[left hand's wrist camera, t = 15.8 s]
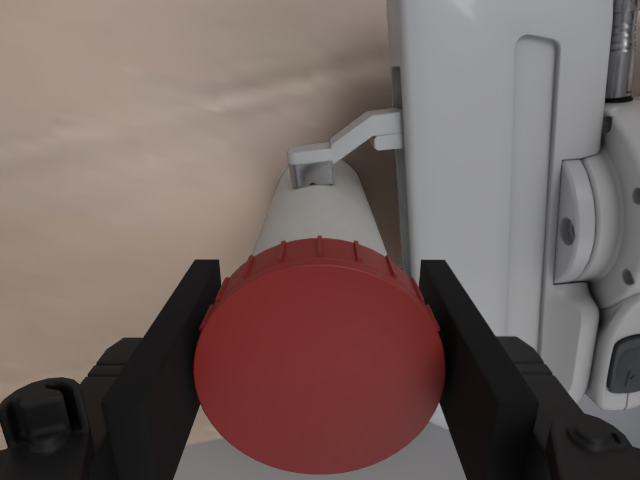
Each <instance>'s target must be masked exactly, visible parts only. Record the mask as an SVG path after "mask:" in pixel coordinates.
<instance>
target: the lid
mask: <svg viewBox="0 0 640 480" xmlns="http://www.w3.org/2000/svg"><path fill="white" fill-rule="evenodd" d="M199 331H201V334H200V336H199V339H198V342H197V345H196V350H195V355H194V365H193V375H194V383H195V388H196V392H197V395H198V399H199V402H200V404H201V406H202V408H203V410H204V413H205V414H206V416H207V417H208V419H209V420H210V422H211V424H212V425H213V426H214V427H215V429H216V430H217V431H218V432H219V433H220V434H221V436H223V437H224V438H225V439H226V440H227V441H228V442H229V443H230V444H231V445H233V446H234V447H235V448H237V449H238V450H240V451H241V452H242V453H244V454H246V455H247V456H249V457H251V458H253V459H255V460H257V461H259V462H261V463H264V464H266V465H268V466H271V467H275V468H278V469H281V470H285V471H290V472H296V473H303V474H336V473H344V472H349V471H354V470H358V469H361V468H364V467H368V466H371V465H373V464H376V463H378V462H380V461H382V460H385V459H386V458H388V457H390V456H392V455H393V454H395V453H397V452H398V451H400V450H401V449H402V448H404V447H405V446H407V445H408V444H409V443H410V442H411V441H412V440H413V439H414V438H416V437H417V436H418V435H419V434H420V432H421V431H422V430H423V429H424V428H425V426H426V425H427V424H428V422H429V421H430V419H431V418H432V416H433V414H434V413H435V411H436V409H437V406H438V404H439V402H440V399H441V396H442V392H443V388H444V384H445V375H446V363H445V354H444V349H443V345H442V341H441V339H440V336H439V334H438V331H440V328H439V325H438V323H437V321H436V319H435V317H434V315H433V313H432V310H431V308H430V306H429V304H428V305H426V304H425V302H424V298H423V296H422V294H421V292H420V290H419V287H418V285H417V283H416V281H415V279H414V278H413V277H412V278H409V276H408V275H407V274H406V273H405V272H404V271H403V270H402V269H401V268H400V267H399V266H398V265H396V264H395V263H394V262H392V260H391V257H390V256H389V255H386V257H385V256H384V255H382V254H380V253H378V252H376V251H374V250H373V249H370V248H368V247H365V246H362V245H360V244H359V242H358V241H355V240H354V242H349V241H345V240H339V239H331V238H322V236H317V238H308V239H300V240H294V241H290V242H286V241H285V240H284V241H281V244H279V245H277V246H274V247H272V248H269V249H267V250H265V251H263V252H261V253H259V254H257V255H256V256H253V255H251V256H249V258H248V260H247V262H246V263H244V264H243V265H242V266H240V267H239V268H238V269H237V270H236V271H235V272H234V273H233V274H232V275H231V277H230V278H228V277H226V278H225V279H224V281H223V284H222V286H221V288H220V290H219V292H218V294H217V297H216V299H215V303H214V305H212V304H210V307H209V309H208V311H207V313H206V315H205V317H204V319H203V321H202V324H201V326H200V328H199Z"/></svg>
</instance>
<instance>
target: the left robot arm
mask: <svg viewBox="0 0 640 480" xmlns="http://www.w3.org/2000/svg"><path fill="white" fill-rule="evenodd" d="M220 288H221V277H220V265H219V260H195V261H194V262H193V264H192V265H191V267H190V268H189V270H188V271H187V273H186V274H185V276H184V277H183V279H182V280H181V282H180V283H179V285H178V286H177V288H176V289H175V291H174V292H173V294H172V295H171V297H170V298H169V300H168V301H167V303H166V304H165V306H164V307H163V309H162V310H161V312H160V313H159V315H158V316H157V318H156V319H155V321H154V322H153V324H152V325H151V327H150V328H149V330H148V331H147V333H146V334H145V336H144V337H143V338H123V339H121V340H120V341H118V342H117V343H115V344H114V345H112V346H111V347H110V348H108V349H107V350H106V351H105V352H104V354H103V355H102V356H101V358H100V359H99V360H98V362H97V364H96V366H94V367H93V368H92V369H91V371H90V372H89V373H88V377H85V379H84V380H83V381H82V382H81V384H79V383H77V382H76V381H75V380H73V379H68V378H63V377H60V378H48V379H44V380H41V381H37V382H33V383H31V384H29V385H26V386H24V387H22V388H20V389H18V390H16V391H15V392H13V393H12V394H11V395H9V396H8V397H7V398H5V399H4V400H3V401H2V403H1V404H0V424H1V427H2V430H3V434H4V437H5V440H6V443H7V446H8V448H7V449H4V450H1V451H0V480H173V478H174V475H175V473H176V470H177V467H178V464H179V462H180V459H181V456H182V453H183V450H184V448H185V445H186V442H187V439H188V437H189V434H190V431H191V428H192V425H193V423H194V420H195V417H196V414H197V412H198V409H199V406H200V402H199V399H198V395H197V392H196V388H195V383H194V375H193V365H194V355H195V350H196V345H197V342H198V339H199V336H200V334H201V331H199V328H200V326H201V324H202V321H203V319H204V317H205V315H206V313H207V311H208V309H209V307H210V304H212V305H214V303H215V299H216V297H217V294H218V292H219V290H220ZM419 290H420V292H421V294H422V296H423V298H424V302H425V304H426V305H428V304H429V306H430V308H431V310H432V313H433V315H434V317H435V319H436V321H437V323H438V325H439V328H440V331H438V334H439V336H440V339H441V341H442V345H443V349H444V354H445V363H446V375H445V384H444V388H443V392H442V396H441V399H440V402H439V403H440V406H441V409H442V412H443V414H444V417H445V420H446V423H447V425H448V428H449V431H450V434H451V437H452V439H453V442H454V445H455V448H456V450H457V453H458V456H459V459H460V462H461V464H462V467H463V470H464V473H465V475H466V478H467V480H640V449H639V448H635V447H632V445H631V444H630V442H629V441H628V439H627V438H626V436H625V435H624V434H623V433H621V432H620V431H619V430H618V429H617V428H615V427H614V426H613V425H611V424H609V423H607V422H605V421H603V420H602V419H600V418H597V417H594V416H591V415H588V414H584V413H583V412H582V410H581V409H580V408H579V406H578V405H577V404H576V402H575V401H574V400H573V399H572V397H571V396H570V395H569V393H568V392H567V391H566V390H565V388H564V387H563V386H562V384H561V383H560V382H559V380H558V379H557V378H556V377H555V376H553V374H552V371H551V370H550V369H549V367H548V366H547V365H546V364H544V361H543V360H542V358H541V357H540V356H539V355H538V353H537V352H536V351H535V349H534V348H533V347H531V346H530V345H528V344H527V343H525V342H524V341H523V340H521V339H520V338H518V337H517V336H495V334H494V333H493V331H492V330H491V328H490V327H489V325H488V324H487V322H486V321H485V319H484V318H483V316H482V315H481V313H480V312H479V310H478V309H477V307H476V306H475V304H474V303H473V301H472V300H471V298H470V297H469V295H468V294H467V292H466V291H465V289H464V288H463V286H462V285H461V283H460V282H459V280H458V279H457V277H456V276H455V274H454V273H453V271H452V270H451V268H450V267H449V265H448V264H447V262H446V261H445V260H421V265H420V277H419Z"/></svg>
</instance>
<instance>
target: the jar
mask: <svg viewBox="0 0 640 480" xmlns="http://www.w3.org/2000/svg"><path fill="white" fill-rule="evenodd" d="M332 168H333V179H334V184H329V185H316V184H314V183H311V184H310V185H309V186H307V187H303V188H294V187H292V183H291V177H290V171H289V167H288V168H287V169H286V170H285V172H284V173H283V175H282V177H281V178H280V181H279V184H278V186H277V189H276V192H275V194H274V197H273V200H272V202H271V205H270V208H269V210H268V213H267V216H266V218H265V221H264V224H263V227H262V229H261V232H260V235H259V237H258V240H257V243H256V245H255V248H254V251H253V253H252V255H253V256H256V255H257V254H259V253H261V252H263V251H265V250H267V249H269V248H272V247H274V246H277V245H279V244H281V241H284V240H285V241H286V242H290V241H294V240H300V239H308V238H317V236H322V238H331V239H339V240H345V241H349V242H354V240H355V241H358V242H359V244H360V245H362V246H365V247H368V248H370V249H373V250H374V251H376V252H378V253H380V254H382V255H384V256H385V257H386V255H387V252H386V250H385V247H384V244H383V241H382V239H381V236H380V233H379V230H378V228H377V225H376V222H375V220H374V217H373V214H372V211H371V209H370V206H369V203H368V201H367V198H366V195H365V192H364V190H363V187H362V184H361V182H360V179H359V177H358V175H357V174H356V172H355V171H354V169H353V168H352V167H351V166H350V165H349V164H347V163H346V162H345V161H343V160H341V159H340V160H339V161H338V162H336V163H335V164H333V163H332Z"/></svg>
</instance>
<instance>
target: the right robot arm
mask: <svg viewBox="0 0 640 480" xmlns="http://www.w3.org/2000/svg"><path fill="white" fill-rule="evenodd" d="M639 10H640V0H387V21H388V38H389V55H390V72H391V89H392V105H393V108H388V109H380V110H372V111H366V112H364V113H363V114H362V115H361V116H359V117H358V118H357V119H355V120H354V121H353V122H351V123H350V124H349V125H347V126H346V127H345V128H344V129H342V130H341V131H340V132H338V133H337V134H336V135H334V136H333V137H332V138H330V142H326V143H317V144H309V145H301V146H295V147H291V148H288V151H287V158H288V165H289V171H290V177H291V183H292V187H294V188H303V187H307V186H309V185H310V184H311V183H314V184H316V185H329V184H334V179H333V168H332V163H333V164H335V163H336V162H338V161H339V160H340V159H342V158H343V157H345V156H346V155H347V154H349V153H350V152H352V151H353V150H354V149H356V148H357V147H359V146H360V145H361V144H363V143H364V142H365V141H367V140H368V139H369V141H370V142H371V144H372V145H373V147H374V148H375V149H376V150H377V151H380V150H390V149H395V156H396V173H397V190H398V206H399V223H400V240H401V257H402V270H403V271H404V272H405V273H406V274H407V275H408V276H409V278H412V277H413V278H414V279H415V281H416V283H417V285H418V287H419V277H420V265H421V260H445V261H446V262H447V264H448V265H449V267H450V268H451V270H452V271H453V273H454V274H455V276H456V277H457V279H458V280H459V282H460V283H461V285H462V286H463V288H464V289H465V291H466V292H467V294H468V295H469V297H470V298H471V300H472V301H473V303H474V304H475V306H476V307H477V309H478V310H479V312H480V313H481V315H482V316H483V318H484V319H485V321H486V322H487V324H488V325H489V327H490V328H491V330H492V331H493V333H494V334H495V336H517V337H518V338H520V339H521V340H523V341H524V342H525V343H527V344H528V345H530V346H531V347H533V348H534V349H535V351H536V352H537V353H538V355H539V356H540V357H541V358H542V360H543V361H544V364H546V365H547V366H548V367H549V369H550V370H551V371H552V374H553V376H555V377H556V378H557V379H558V380H559V382H560V383H561V384H562V386H563V387H564V388H565V390H566V391H567V392H568V393H569V395H570V396H571V397H572V399H573V400H574V401H575V402H576V404H577V403H578V402H579V401H580V400H581V399H582V397H583V396H584V394H586V395H587V396H588V397H589V398H590V399H591V400H592V401H593V402H594V403H595V404H596V405H597V406H598V407H599V408H601V409H603V410H607V411H620V410H628V409H632V408H635V407H637V406H639V405H640V96H639V97H631V91H632V83H633V74H634V66H635V53H636V49H635V48H634V47H635V46H636V44H635V41H634V39H635V34H636V33H634V32H635V31H636V25H635V24H636V21H637V14H638V11H639ZM429 422H430V423H432V424H434V425H436V426H438V427H440V428H442V429H447V430H449V428H448V425H447V423H446V420H445V417H444V414H443V412H442V409H441V406H440V403H439V404H438V406H437V409H436V411H435V413H434V414H433V416H432V418H431V419H430V421H429Z"/></svg>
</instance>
